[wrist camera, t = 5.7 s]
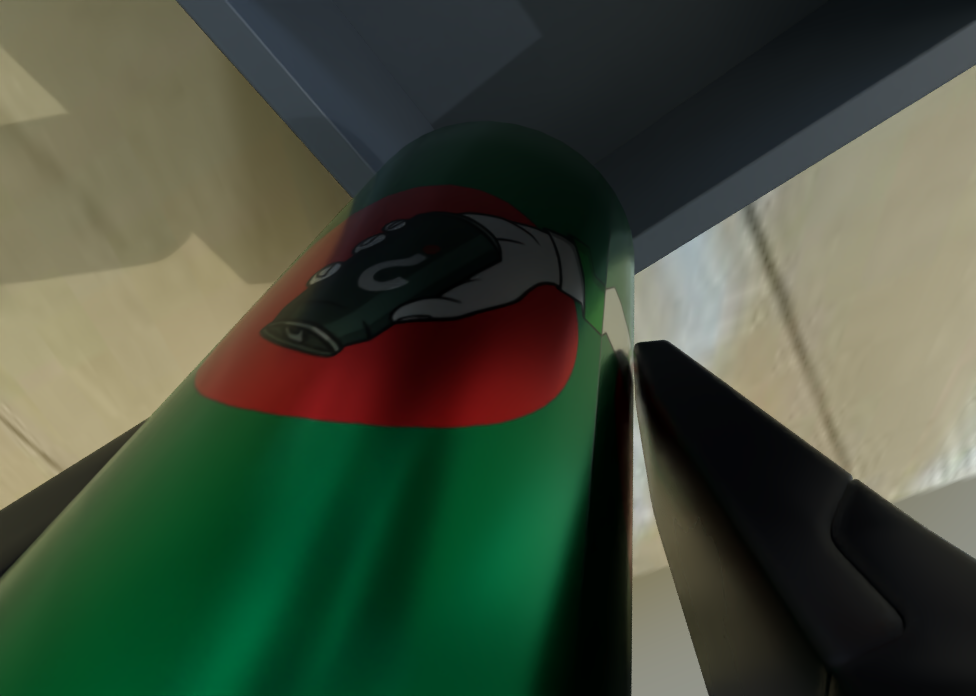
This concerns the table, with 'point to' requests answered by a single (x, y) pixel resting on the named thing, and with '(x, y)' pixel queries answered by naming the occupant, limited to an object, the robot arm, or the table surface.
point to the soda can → (376, 463)
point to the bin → (601, 84)
